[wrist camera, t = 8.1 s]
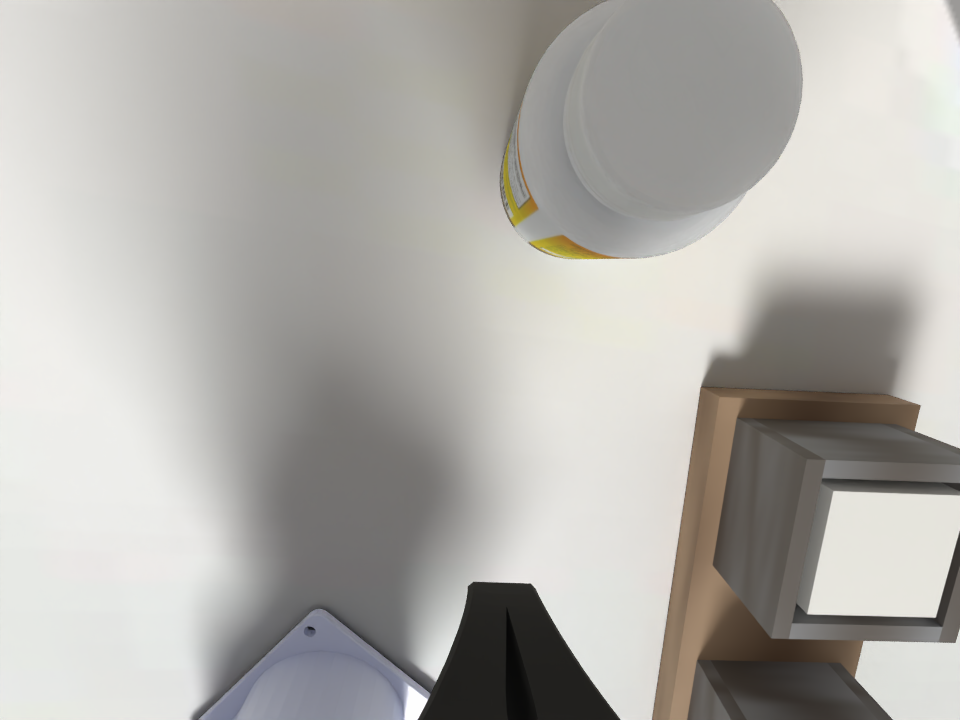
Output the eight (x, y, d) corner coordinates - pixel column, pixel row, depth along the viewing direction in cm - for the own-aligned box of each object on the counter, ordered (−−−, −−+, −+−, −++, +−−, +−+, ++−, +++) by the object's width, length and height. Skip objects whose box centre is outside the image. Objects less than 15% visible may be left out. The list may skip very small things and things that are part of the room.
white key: (762, 567, 19) (807, 614, 16) (782, 458, 18) (833, 490, 15) (874, 570, 19) (935, 617, 16) (900, 463, 18) (968, 495, 15)
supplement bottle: (672, 197, 19) (909, 128, 9) (555, 288, 19) (652, 321, 9) (588, 69, 18) (745, -174, 8) (467, 169, 18) (469, 63, 8)
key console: (646, 759, 24) (698, 903, 19) (701, 386, 20) (786, 433, 15) (804, 762, 24) (899, 904, 19) (888, 394, 21) (1037, 443, 15)
